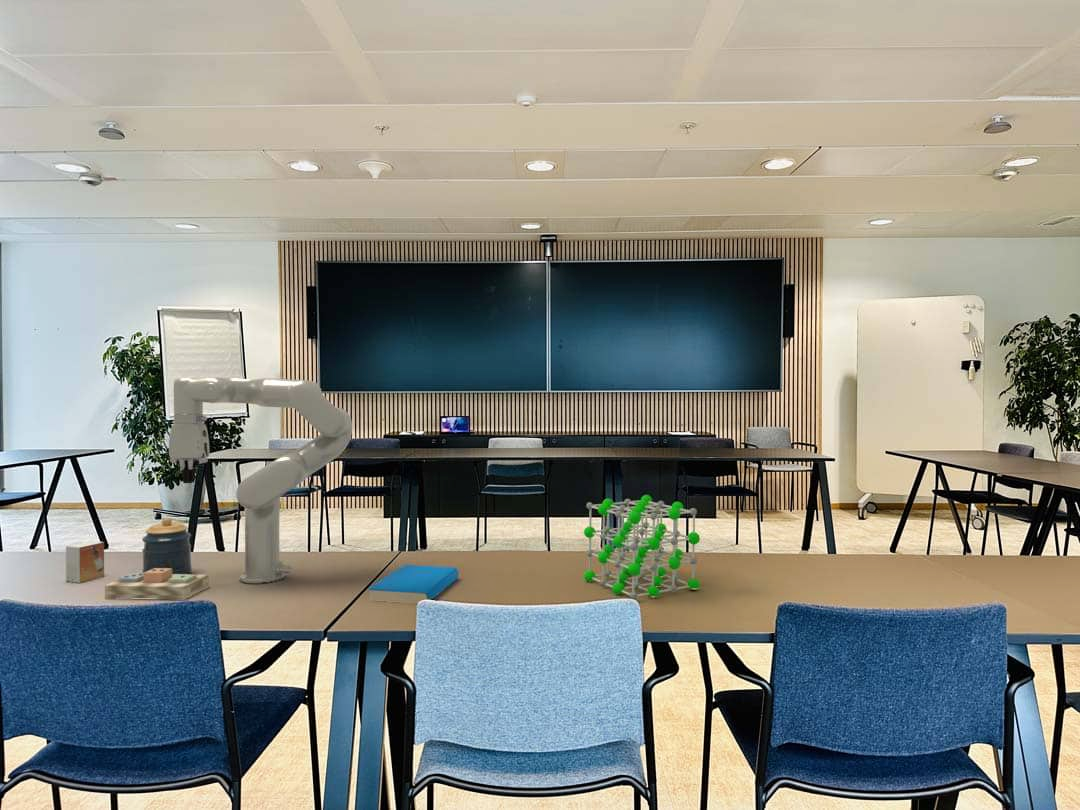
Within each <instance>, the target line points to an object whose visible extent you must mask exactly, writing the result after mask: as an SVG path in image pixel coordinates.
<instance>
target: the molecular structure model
mask: <svg viewBox="0 0 1080 810" xmlns="http://www.w3.org/2000/svg"><path fill="white" fill-rule="evenodd" d="M630 505H634V506H630ZM585 507H586V508H587V509H588V510H589V519H588V520H589V524H588V525H589V526H586V527H585V528H584V530H583V535H584V536H585V538H588V549H587V550H586V553H585V555H586V556H587V557H588V570H586V571H585V572H584V574H583V579H584V580H585V581H586V582H587V581H592V582H594V581H596V582H598V583H599V585H600V586H602V587H605V586H606V587H610V588H611V589H612V592H613V594H614V595H616V594H621V595H623V594H625V595H627V596H629V598H630V599H631V598H634V600H636V599H637V598H640V597H644V596H648V595H649V596H658V597H659V596H660V594H661V593H666V592H672V591H676V592H677V590H681V589H689V588H699V589H700V581H699V580H698V579H697V578H695V565H696V564H697V562H698V560H697V557H695V547H696V546H695V545H697V544H698V543H699V542H700V539H701V538H700V534H698V532H695V531H696V515H697V513H698V510H697V508H696V507H695V508H694V507H692V508H690V509H685V508H684V504H683V503H682V502H680V501H675V502H673V503H672V505H667V504H665V502H664V501H663V500H659V501H657V502H654V501H653V498H652V497H651V496H650V495H649V494H645V495H642V497H641V498H640V500H631V499H630V498H626V499H624V501H619V502H614V501H613V500H612V499H611V498H605V499H604V500H603V501H602V503H598V504H593V502H587V503H586V506H585ZM592 509H594V510H597V512H598V514H599V515H601V516H602V529H598V530H596V529H595V527H593V526H592V511H593V510H592ZM610 514H614V516H615V517H616V518H617V527H615V528H614V527H611V526H610ZM684 514H690V515H691V516H692V531H691V532H690V533H689V534H687V535H685V534H681V532H680V530H678V527H679V525H678V523H679V518H681V517H680V516H681V515H684ZM606 516H607V517H606ZM666 516H667V517H668V518H669V519H670V520H672V521H673V523H672V524H673V525H672V527H673V528H672V529H673V530H672V531H670V530H667V526H666V525H665V524H664V523H663V517H666ZM624 518H626V521H625V522H624V520H625V519H624ZM606 519H607V520H606ZM648 519H650V520H652V525H650V523H649V522H648ZM655 521H656V522H655ZM640 522H641V523H640ZM639 523H640V525H639ZM655 524H656V525H655ZM599 533H600V534H599ZM610 533H613V534H610ZM666 533H667V534H666ZM639 535H640V536H639ZM595 536H596V537H599V538H600V540H601V541H602V549H601V550H597V551H593V550H592V538H594V537H595ZM612 537H613V538H612ZM669 537H671V538H669ZM679 537H682V538H679ZM605 540H606V541H605ZM664 540H665V541H664ZM610 541H611V542H612V545H613V546H614V547H613V546H612V545H611V544H610ZM684 541H688V543H689V544H691V545H692V546H691V547H692V548H691V549H692V552H691V553H692V555H691V557H686V556H684V553H683V551H682V550H681V549H679V548H678V542H684ZM605 542H606V544H605ZM630 543H631V544H630ZM639 543H640V544H639ZM663 544H671V545H672V552H670V551H668V550H665V548H664V547H663V546H662V545H663ZM614 551H615V552H616V551H617V553H614ZM624 551H625V553H626V554H625V553H624ZM631 551H632V553H629V552H631ZM655 553H656V554H655ZM663 553H665V554H668V555H664V556H662V554H663ZM593 556H594V557H596V558H597V559H598V562H599V563H600V564H601V565H602V566H601V568H602V569H601V570H602V571H601V574H595V572H594V571H593V570H592V557H593ZM630 557H632V558H630ZM647 557H649V558H647ZM668 558H669V559H668ZM614 559H617V560H614ZM682 559H684V560H683V561H681V560H682ZM625 560H626V561H625ZM648 561H651V563H650V564H649V565H648ZM662 562H666V563H662ZM609 563H612V564H614V567H616V571H614V572H611V570H609V565H610V564H609ZM688 563H690V564H691V578H690V579H689V580H688V581H687V582H686V581H684V580H681V579H680V576H679V575H678V569H679V568H680V567H681V564H688ZM605 564H606V570H605ZM665 567H669V568H670V569H672V573H671V575H672V576H671V575H668V574H667V573H668V571H667V569H666V568H665ZM644 570H645V572H647V571H648V572H651V573H650V574H645V573H644ZM615 575H616V576H615ZM627 575H630V576H632V577H629V576H627ZM660 576H665V577H666V578H668V579H666V580H664V578H661V577H660ZM600 577H601V579H598V578H600ZM605 577H607V578H610V577H611V578H613V579H615V580H610V581H607V579H605ZM650 577H651V578H650ZM641 579H642V580H646V581H648V583H642V584H641V583H640V582H639V581H638V580H641ZM675 581H678V582H677V583H681V584H684V585H683V586H677V585H676V584H675V583H676V582H675ZM670 582H672V583H671V585H667V584H664V583H670ZM626 583H627V584H626ZM611 584H613V585H611ZM623 584H625V585H630V586H625V585H623ZM647 586H649V587H647ZM656 586H662V587H664V588H666V589H661V590H660V588H658V587H656ZM645 587H647V588H645ZM629 589H631V590H632V591H631V592H628V591H626V590H629ZM639 589H640V590H643V591H645V592H644V593H639V594H638V593H637V592H636V591H635V590H639ZM622 593H623V594H622ZM649 596H648V597H649Z"/></svg>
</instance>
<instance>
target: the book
mask: <svg viewBox="0 0 1080 810" xmlns="http://www.w3.org/2000/svg"><path fill="white" fill-rule="evenodd" d="M458 578H459V571H458V568H457V567H453V566H439V565H438V566H434V565H433V566H432V565H420V564H419V565H417V564H416V565H415V564H404V565H403V566H401V567H399V568H397V569H396V570H395V571H393V572H391V573H390V574H388V575H386V576H385V577H384V578H381V579H380V580H378V581H377V582H376V583H374V584H372V585H371V586H369V587H368V590H369V592H368V593H369V596H368V597H369V599H372V600H388V601H402V602H413V603H414V602H416V603H417V602H418V601H420V600H424V599H433V597H434V596H436V595H437V594H438V593H440V592H441V591H442V590H444V589H445V588H446V587H447V586H448V587H449V586H451V585H452V584H453V583H454V582H456V579H457V580H458ZM452 582H453V583H452ZM451 583H452V584H451ZM450 584H451V585H450ZM448 587H447V588H448ZM447 588H446V589H447ZM446 589H445V590H446ZM445 590H444V591H445ZM442 592H443V591H442ZM442 592H441V593H442ZM441 593H440V594H441ZM436 597H437V596H436ZM433 600H434V599H433Z"/></svg>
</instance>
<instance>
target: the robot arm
mask: <svg viewBox="0 0 1080 810" xmlns="http://www.w3.org/2000/svg"><path fill="white" fill-rule="evenodd" d="M203 403H209V404H220V403H222V404H223V403H226V404H227V403H231V404H249V405H256V406H260V407H266V408H283V409H285V408H286V409H289V408H290V409H295V411H296V412H297V413H299V415H300V416H301V417H302V418H303V419H304V420H305V421H306V422H308V423H309V424H310V426H312V427H313V428H314V429H315V430H316V431H317V432H318V436H316V437H315V438H313V439H312V440H309V441H308V442H307V443H305V444H304V445H302V446H300V447H299V448H298V449H295V450H294V451H292V452H289V453H287V454H284V455H281V456H280V457H278V458H276V459H275V460H273V461H271V462H270V463H268V464H266V465H264V466H263V467H262V468H259V469H258V470H257V471H255V472H254V473H252V474H250V475H249V476H248V477H245V478H244V479H243V480H241V481H240V483H239V484H238V486H237V488H236V491H235V492H236V493H235V495H236V499H237V502H238V504H240V505H241V506H242V507H243V508H245V511H244V573H242V574H240V575H239V581H240V582H241V581H242V582H241V583H244V582H246V583H245V584H263V583H262V582H267V583H271V581H272V582H275V580H276V581H280V580H282V579H283V578H285V576H286V574H292V573H293V566H292V565H285V564H284V560H280V557H281V556H280V555H281V554H280V506H281V497H282V496H283V495H284V494H286V493H288V492H289V491H291V490H292V489H294V488H295V487H297V486H299V485H300V484H301V483H303V482H304V481H305V480H306V479H307V478H308V477H310V476H311V475H313V474H315V473H316V472H317V471H319V470H320V469H322V468H324V467H325V466H326V465H328V464H329V463H331V462H332V461H334V460H335V459H336V458H337V457H339V456H340V455H341V454H342V453H343V452H344V450H345V449H346V448H347V446H348V445H349V443H350V441H351V438H352V433H353V421H352V418H351V416H350V414H349V413H348V412H347V411H346V410H345V409H343V408H341V407H336V406H335V405H334V404H332V402H331V401H329V399H327V397H326V396H325V395H323V392H322V388H321V386H320V385H319V384H318V383H317V382H315V381H312V380H307V379H305V380H304V379H290V378H289V379H287V378H286V379H285V378H268V377H267V378H266V377H263V378H256V379H249V378H247V379H246V378H231V377H230V378H229V377H217V376H216V377H213V376H210V377H204V378H198V377H197V378H196V377H177V378H176V379H175V380H174V382H173V424H172V425H171V428H170V432H169V438H168V456H169V462H170V463H171V464H177V465H178V467H180V470H182V474H181V475H182V477H181V478H182V483H183V484H192V483H195V481H196V469H198V467H199V466H200V465H201V464H203V463H204V464H205V463H208V460H209V459H208V457H209V456H210V451H211V450H210V439H209V433H208V428H207V425H206V424H204V422H206V421H207V420H208V417H207V416H206V415H205V416H204V413H203V412H204V410H203V409H204V408H203V407H204V405H203ZM281 578H282V579H281ZM279 579H280V580H279Z"/></svg>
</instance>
